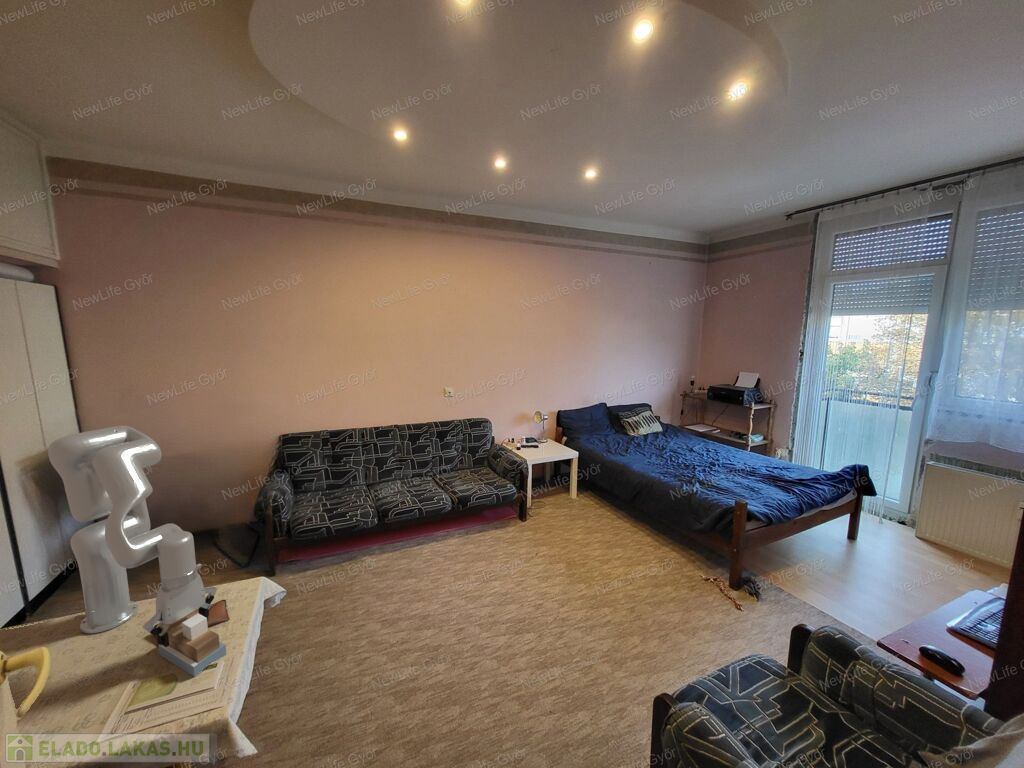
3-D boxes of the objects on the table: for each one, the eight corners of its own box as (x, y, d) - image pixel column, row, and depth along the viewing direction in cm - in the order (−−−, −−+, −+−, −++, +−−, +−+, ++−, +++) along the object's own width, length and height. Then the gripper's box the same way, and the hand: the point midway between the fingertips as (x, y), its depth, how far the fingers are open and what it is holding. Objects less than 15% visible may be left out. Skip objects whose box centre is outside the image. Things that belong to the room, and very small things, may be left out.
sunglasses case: (155, 651, 112) (152, 626, 113) (155, 649, 117) (152, 625, 118) (232, 619, 125) (228, 597, 126) (228, 618, 129) (225, 597, 131)
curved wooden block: (162, 641, 112) (161, 629, 111) (185, 628, 117) (183, 616, 116) (197, 662, 106) (196, 649, 105) (219, 647, 111) (218, 634, 110)
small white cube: (183, 635, 109) (181, 622, 109) (199, 625, 113) (198, 613, 112) (191, 640, 108) (190, 627, 107) (208, 630, 111) (206, 617, 111)
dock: (160, 654, 111) (158, 644, 110) (192, 634, 118) (191, 625, 118) (194, 677, 105) (193, 666, 104) (226, 654, 112) (225, 644, 112)
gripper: (205, 557, 118) (210, 608, 121) (132, 592, 102) (139, 650, 105) (221, 564, 115) (225, 616, 118) (148, 601, 100) (155, 660, 102)
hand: (185, 632), depth 112 cm, fingers open, 9 cm apart
